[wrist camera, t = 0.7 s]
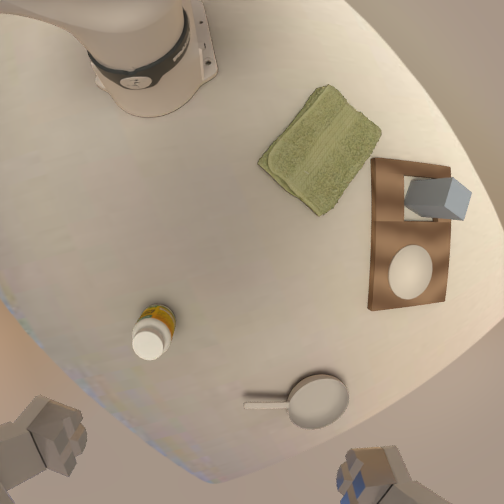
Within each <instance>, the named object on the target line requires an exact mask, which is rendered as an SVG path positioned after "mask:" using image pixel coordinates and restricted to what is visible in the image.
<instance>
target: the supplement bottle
mask: <svg viewBox="0 0 504 504" xmlns="http://www.w3.org/2000/svg"><path fill="white" fill-rule="evenodd" d="M175 325H176V320H175V316H174V314H173V312H172V311H171V310H170V309H169V308H168V307H166V306H163V305H158V304H157V305H151V306H149V307H147V308H146V309H145V310H144V312H143V313H142V315H141V316H140V318H139V320H138V321H137V323H136V324H135V326H134V328H133V331H132V340H133V341H132V346H133V349H134V351H135V353H136V354H137V355H138V356H139V357H141V358H143V359H145V360H154V359H157V358H158V357H159V356H160V355H161V354H163V353H164V352H166V351H167V349H168V348H169V346H170V344H171V340H172V337H173V333H174V329H175Z"/></svg>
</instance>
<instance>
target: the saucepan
mask: <svg viewBox="0 0 504 504" xmlns="http://www.w3.org/2000/svg"><path fill="white" fill-rule="evenodd" d="M348 403H349V391H348V389H347V387H346V386H345V385H344V384H343V383H342V382H341V381H340V380H339V379H337V378H336V377H333V376H330V375H323V374H320V375H313V376H309V377H307V378H305V379H303V380H302V381H300V382H299V383H298V384H297V385H296V386H295V387H294V388H293V389H292V391H291V393H290V394H289V397H288V400H287V402H245V403H244V408H245V409H282V408H287V412H288V416H289V419H290V420H291V422H292V423H293V424H294V425H296V426H297V427H299V428H302V429H307V430H314V429H320V428H323V427H326V426H328V425H330V424H332V423H333V422H335V421H336V420H338V419H339V418H340V417H341V416H342V414H343V413H344V412H345V410H346V409H347V406H348Z"/></svg>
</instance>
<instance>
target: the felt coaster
mask: <svg viewBox="0 0 504 504" xmlns="http://www.w3.org/2000/svg"><path fill="white" fill-rule="evenodd" d="M431 276H432V261H431V258H430V255H429V254H428V252H427V251H426V250H425V249H424V248H422V247H420V246H417V245H407V246H405V247H403V248H401V249H400V250H399V251H397V253H396V254H395V255H394V256H393V258H392V260H391V262H390V265H389V269H388V283H389V286H390V288H391V290H392V292H393V293H394V294H395V295H397V296H398V297H400V298H402V299H413V298H416V297H417V296H419V295H420V294H421V293H423V292H424V290H425V289H426V288H427V286H428V284H429V282H430V280H431Z"/></svg>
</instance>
